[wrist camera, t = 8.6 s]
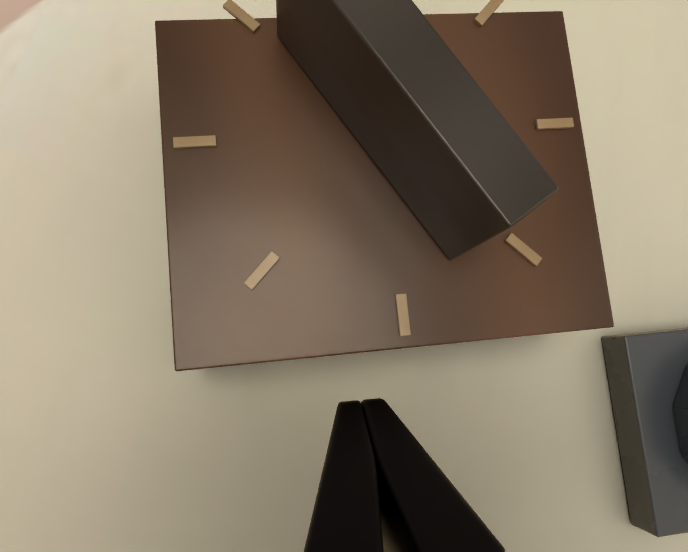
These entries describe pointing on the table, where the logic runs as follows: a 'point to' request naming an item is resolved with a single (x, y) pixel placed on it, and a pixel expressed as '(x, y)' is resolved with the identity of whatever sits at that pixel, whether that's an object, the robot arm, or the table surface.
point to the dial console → (357, 204)
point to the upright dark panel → (417, 116)
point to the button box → (652, 425)
